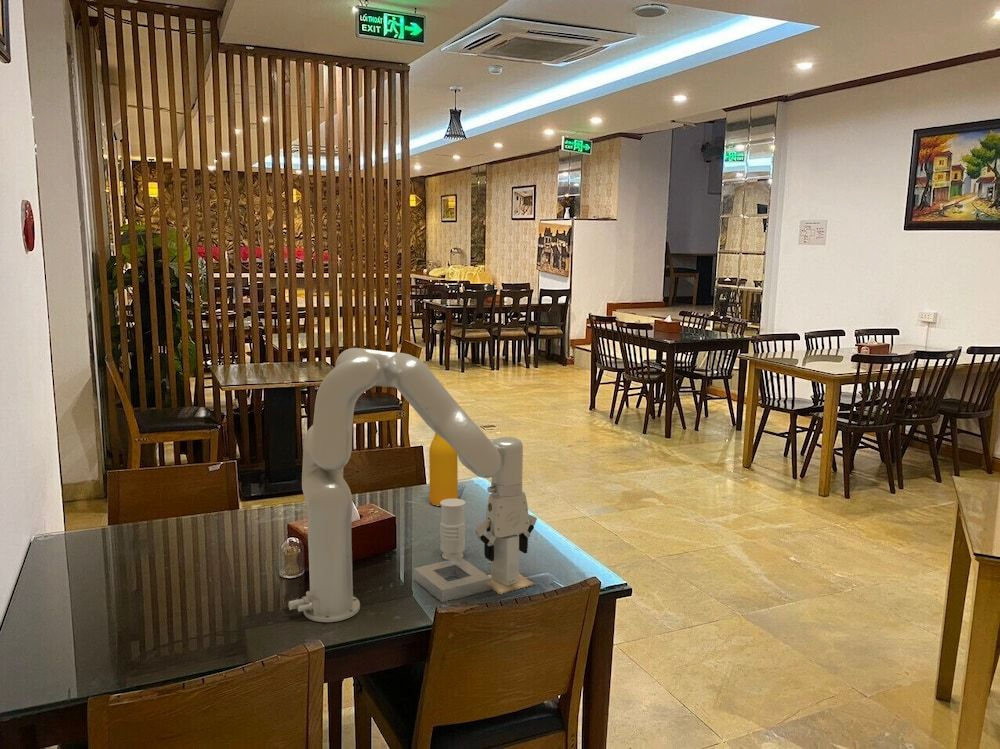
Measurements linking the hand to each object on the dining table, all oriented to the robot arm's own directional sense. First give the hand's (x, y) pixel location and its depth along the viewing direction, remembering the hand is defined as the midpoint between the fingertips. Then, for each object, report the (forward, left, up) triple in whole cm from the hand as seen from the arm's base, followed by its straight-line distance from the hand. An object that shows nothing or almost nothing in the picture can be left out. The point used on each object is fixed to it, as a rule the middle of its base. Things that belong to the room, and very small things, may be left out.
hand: (506, 555), depth 188 cm
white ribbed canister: (-3, +22, -7) cm, 23 cm away
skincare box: (0, 0, -7) cm, 7 cm away
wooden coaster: (0, 0, -7) cm, 7 cm away
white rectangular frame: (-12, +6, -7) cm, 15 cm away
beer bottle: (+16, +63, -7) cm, 65 cm away
